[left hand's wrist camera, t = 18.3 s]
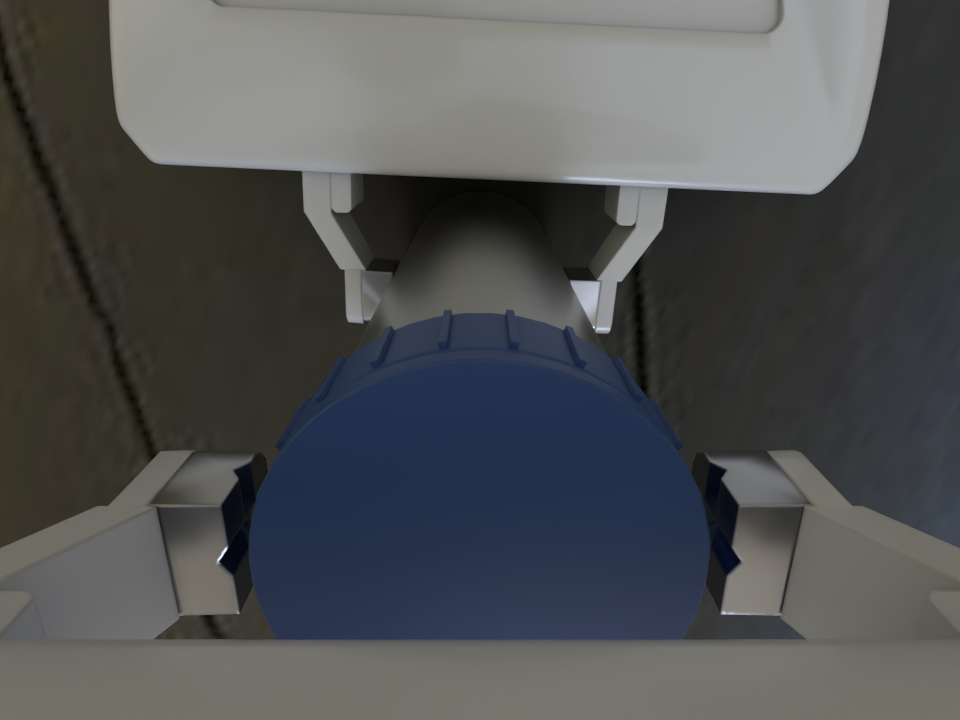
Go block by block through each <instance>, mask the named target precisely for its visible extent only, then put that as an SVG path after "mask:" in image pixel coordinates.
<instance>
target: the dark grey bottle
mask: <svg viewBox="0 0 960 720" xmlns="http://www.w3.org/2000/svg"><path fill="white" fill-rule="evenodd" d="M450 309H451V311H452V315H454V314H461V313H496V314H504V315H506V310H507V309H509V310H514V313H515V316H520V317H524V318H528V319H532V320H536V321H540V322H544V323H547V324H550V325H553V326H555V327H558V328H560V329H563V330H564V329H565V327H566V325H568V326H570V327H572V328H573V329H574V332H575V334H576V336H578V337H580V338H582V339H583V340H585V341H587V342H589V343H591V344H592V345H594V346H596V347H597V348H598V349H600V350H601V351H602V352H604V353H605V354H606V355H607V353H606V351H605V349H604V347H603V345H602V343H601V341H600V339H599V337H598V336H597V334H596V332H595V330H594V328H593V326H592V324H591V322H590V320H589V318H588V316H587V314H586V312H585V311H584V309H583V307H582V305H581V303H580V301H579V299H578V297H577V295H576V293H575V291H574V289H573V287H572V286H571V284H570V282H569V280H568V278H567V276H566V274H565V272H564V270H563V268H562V266H561V264H560V262H559V261H558V259H557V257H556V255H555V253H554V251H553V249H552V247H551V245H550V243H549V241H548V239H547V237H546V236H545V234H544V232H543V230H542V228H541V226H540V225H539V223H538V221H537V220H536V219H535V217H534V216H533V215H532V214H531V213H530V212H529V211H528V210H527V209H526V208H525V207H524V206H522V205H521V204H520V203H518V202H517V201H515V200H513V199H511V198H509V197H507V196H504V195H501V194H497V193H493V192H485V191H475V192H467V193H462V194H459V195H456V196H453V197H451V198H449V199H447V200H445V201H444V202H442V203H441V204H439V205H438V206H437V207H435V208H434V209H433V210H432V211H431V212H430V213H429V214H428V215H427V216H426V218H425V219H424V220H423V222H422V223H421V225H420V227H419V228H418V230H417V232H416V234H415V236H414V238H413V240H412V242H411V244H410V246H409V247H408V249H407V251H406V253H405V255H404V257H403V259H402V261H401V263H400V264H399V266H398V268H397V270H396V272H395V274H394V276H393V278H392V280H391V281H390V283H389V285H388V287H387V289H386V291H385V293H384V295H383V297H382V299H381V300H380V302H379V304H378V306H377V308H376V310H375V312H374V314H373V316H372V317H371V319H370V321H369V323H368V325H367V327H366V329H365V331H364V333H363V335H362V336H361V338H360V340H359V342H358V344H357V346H356V348H355V350H354V352H353V353H355V352H356V351H357V350H359V349H360V348H361V347H363V346H365V345H366V344H368V343H370V342H372V341H373V340H375V339H377V338H379V337H380V336H382V334H383V332H384V329H385V328H386V327H389V326H392V327H393V329H394V330H396V329H398V328H401V327H403V326H406V325H408V324H411V323H415V322H419V321H422V320H426V319H430V318H434V317H439V316H443V312H444V310H450ZM353 353H352V354H353Z"/></svg>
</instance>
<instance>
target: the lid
mask: <svg viewBox="0 0 960 720" xmlns="http://www.w3.org/2000/svg"><path fill="white" fill-rule="evenodd" d="M275 447H276V448H278V449H280V451H279V453H278V455H277V456H276V458H275V460H274V462H273V463H272V465H271V467H270V469H269V471H268V473H267V475H266V477H265V479H264V481H263V483H262V485H261V487H260V489H259V491H258V493H257V495H256V502H255V505H254V509H253V512H252V519H251V525H250V532H249V565H250V570H251V576H252V582H253V588H254V591H255V594H256V597H257V600H258V603H259V606H260V609H261V611H262V613H263V615H264V617H265V619H266V621H267V623H268V625H269V627H270V629H271V631H272V633H273V634H274V636H275V637H276V639H443V640H444V639H447V640H449V639H451V640H453V639H455V640H458V639H459V640H681V639H682V638H683V636H684V635H685V633H686V632H687V630H688V629H689V626H690V624H691V622H692V620H693V618H694V616H695V614H696V612H697V610H698V608H699V605H700V601H701V598H702V595H703V592H704V589H705V585H706V580H707V573H708V566H709V559H710V550H709V529H708V523H707V518H706V512H705V507H704V504H703V501H702V500H703V498H702V493H701V492H700V490H699V488H698V486H697V484H696V482H695V480H694V478H693V477H692V475H691V473H690V471H689V469H688V467H687V465H686V464H685V462H684V460H683V458H682V456H681V455H680V453H679V451H678V450H677V449H679V448H681V447H683V445H682V443H681V442H680V440H679V438H678V437H677V435H676V433H675V432H674V430H673V428H672V427H671V425H670V423H669V422H668V420H667V418H666V417H665V415H664V413H663V412H662V410H661V408H660V407H659V405H658V404H657V402H656V400H655V399H654V397H653V398H651V399H649V400H648V398H647V397H646V395H645V394H644V393H643V391H642V390H641V389H640V387H639V386H638V385H637V383H636V382H635V381H634V379H633V378H632V377H631V375H630V373H629V371H628V370H627V368H626V366H625V364H624V363H623V361H622V359H620V358H619V357H618V356H616V357H615V358H614V359H612V358H610V357H609V356H608V355H606V354H605V353H604V352H602V351H601V350H600V349H598V348H597V347H596V346H594V345H592V344H591V343H589V342H587V341H585V340H583V339H582V338H580V337H578V336H576V334H575V332H574V329H573V328H572V327H570V326H568V325H566V327H565V329H564V330H563V329H560V328H558V327H555V326H553V325H550V324H547V323H544V322H540V321H536V320H532V319H528V318H524V317H520V316H515V313H514V310H509V309H507V310H506V315H504V314H496V313H461V314H454V315H452V311H451V309H450V310H444V312H443V316H439V317H434V318H430V319H426V320H422V321H419V322H415V323H411V324H408V325H406V326H403V327H401V328H398V329H396V330H394V329H393V327H392V326H389V327H386V328H385V329H384V332H383V334H382V336H380V337H379V338H377V339H375V340H373V341H372V342H370V343H368V344H366V345H365V346H363V347H361V348H360V349H359V350H357V351H356V352H355V353H353V354H352V355H351V356H350V357H348V358H347V359H346V360H345V359H344V358H343V357H342V356H340V357H339V358H338V359H337V360H336V361H335V363H334V365H333V367H332V368H331V370H330V372H329V374H328V375H327V377H326V379H325V380H324V381H323V383H322V384H321V385H320V387H319V388H318V390H317V391H316V392H315V394H314V395H313V396H312V398H311V399H310V400H309V399H307V398H304V400H303V401H302V403H301V404H300V406H299V408H298V409H297V411H296V413H295V414H294V416H293V417H292V419H291V421H290V422H289V424H288V426H287V427H286V429H285V431H284V432H283V434H282V435H281V437H280V439H279V440H278V442H277V444H276V445H275Z"/></svg>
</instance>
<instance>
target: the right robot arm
mask: <svg viewBox="0 0 960 720" xmlns="http://www.w3.org/2000/svg"><path fill="white" fill-rule="evenodd" d="M888 8H889V0H109V22H110V47H111V64H112V76H113V88H114V98H115V105H116V112H117V116H118V119H119V122H120V124H121V127H122V128H123V129H124V131H125V132H126V133H127V134H128V136H129V137H130V138H131V139H132V140H133V141H134V143H135V144H136V145H137V146H138V147H139V149H140V150H141V151H142V152H143V153H144V154H145V155H146V156H147V157H148V159H150V160H151V161H152V162H154V163H157V164H167V165H187V166H208V167H230V168H251V169H273V170H294V171H302V183H303V202H304V212H305V214H306V216H307V217H308V219H309V220H310V222H311V223H312V225H313V227H314V228H315V230H316V231H317V233H318V235H319V236H320V238H321V239H322V241H323V242H324V244H325V246H326V247H327V249H328V250H329V252H330V254H331V255H332V257H333V258H334V260H335V261H336V263H337V265H338V266H339V268H340V269H344V270H345V297H346V317H347V320H348V322H354V323H369V321H370V319H371V317H372V316H373V314H374V312H375V310H376V308H377V306H378V304H379V302H380V300H381V299H382V297H383V295H384V293H385V291H386V289H387V287H388V285H389V283H390V281H391V280H392V278H393V276H394V274H395V272H396V270H397V268H398V266H399V260H391V259H376V258H375V257H374V255H373V253H372V251H371V250H370V248H369V246H368V244H367V242H366V241H365V239H364V237H363V235H362V233H361V232H360V230H359V228H358V226H357V224H356V222H355V221H354V219H353V217H352V215H351V213H350V212H349V211H351V210H352V209H353V208H354V207H356V206H357V205H358V204H360V203H361V202H362V201H363V200H364V198H363V174H380V175H402V176H423V177H445V178H466V179H488V180H510V181H531V182H553V183H574V184H596V185H606V191H605V202H604V212H605V213H606V215H608V216H609V217H610V218H611V219H613V220H614V221H615V222H616V225H615V226H614V228H613V229H612V231H611V232H610V234H609V235H608V237H607V238H606V240H605V241H604V242H603V244H602V245H601V247H600V248H599V250H598V251H597V253H596V254H595V256H594V257H593V259H592V260H591V262H590V263H589V264H588V266H587V267H588V268H571V267H563V270H564V272H565V274H566V276H567V278H568V280H569V282H570V284H571V286H572V287H573V289H574V291H575V293H576V295H577V297H578V299H579V301H580V303H581V305H582V307H583V309H584V311H585V312H586V314H587V316H588V318H589V320H590V322H591V324H592V326H593V328H594V330H595V332H596V333H607V334H608V333H609V332H610V329H611V326H612V319H613V311H614V303H615V295H616V287H617V282H621V281H622V280H623V279H624V277H625V276H626V275H627V274H628V272H629V271H630V270H631V268H632V267H633V266H634V264H635V263H636V262H637V261H638V259H639V258H640V257H641V255H642V254H643V253H644V251H645V250H646V249H647V248H648V246H649V245H650V244H651V242H652V241H653V240H654V238H655V237H656V236H657V235H658V233H659V232H660V231H661V229H662V227H663V220H664V213H665V207H666V200H667V194H668V188H682V189H703V190H725V191H746V192H768V193H790V194H815V193H818V192H820V191H822V190H823V189H824V188H825V187H826V186H827V185H829V184H830V183H831V182H832V181H833V180H834V179H835V178H836V177H837V176H838V175H839V174H840V173H841V172H842V171H843V170H844V169H845V168H846V167H847V166H848V164H849V163H850V162H851V161H852V160H853V159H854V157H855V155H856V154H857V152H858V149H859V146H860V144H861V141H862V138H863V134H864V131H865V127H866V123H867V120H868V115H869V111H870V107H871V102H872V98H873V93H874V89H875V84H876V79H877V74H878V69H879V64H880V58H881V53H882V47H883V41H884V34H885V28H886V22H887V15H888Z"/></svg>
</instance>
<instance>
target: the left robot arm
mask: <svg viewBox="0 0 960 720" xmlns="http://www.w3.org/2000/svg"><path fill="white" fill-rule="evenodd" d="M267 473H268V469H267V463H266V458H265V457H264V455H263V454H262V453H261V452H238V451H196V450H179V451H162V452H159V453H158V454H157V455H156V457H155V458H154V459H153V460H152V461H151V462H150V463H149V464H148V465H147V466H146V467H145V468H144V469H143V470H142V471H141V472H140V473H139V474H138V475H137V476H136V477H135V478H134V480H133V481H132V482H131V483H130V484H129V485H128V486H127V487H126V488H125V489H124V490H123V491H122V492H121V493H120V494H119V495H118V496H117V497H116V498H115V499H114V500H113V501H112V503H111V504H110V505H109V506H97V507H94V508H92V509H90V510H87V511H85V512H83V513H80V514H78V515H76V516H73V517H71V518H69V519H67V520H64V521H62V522H60V523H57V524H55V525H53V526H50V527H48V528H46V529H43V530H41V531H39V532H36V533H34V534H32V535H30V536H27V537H25V538H23V539H20V540H18V541H16V542H13V543H11V544H9V545H6V546H4V547H2V548H0V720H960V548H958V547H956V546H953V545H951V544H949V543H947V542H944V541H942V540H940V539H937V538H935V537H933V536H930V535H928V534H926V533H923V532H921V531H919V530H917V529H914V528H912V527H910V526H907V525H905V524H903V523H900V522H898V521H896V520H893V519H891V518H889V517H887V516H884V515H882V514H880V513H877V512H875V511H873V510H870V509H868V508H866V507H864V506H851V504H850V503H849V502H848V501H847V500H846V499H845V498H844V497H843V496H842V495H841V494H840V493H839V492H838V491H837V490H836V489H835V488H834V487H833V486H832V485H831V484H830V482H829V481H828V480H827V479H826V478H825V477H824V476H823V475H822V474H821V473H820V472H819V471H818V470H817V469H816V468H815V467H814V466H813V465H812V464H811V463H810V462H809V460H808V459H807V458H806V457H805V456H804V455H803V454H802V453H801V452H798V451H795V450H780V451H730V452H702V453H697V454H696V457H695V460H694V462H693V468H692V477H693V478H694V480H695V482H696V484H697V486H698V488H699V490H700V492H701V493H702V498H703V500H702V501H703V504H704V507H705V512H706V518H707V523H708V529H709V550H710V559H709V566H708V573H707V580H706V585H707V587H708V589H709V591H710V593H711V595H712V597H713V599H714V601H715V603H716V605H717V607H718V609H719V611H720V613H721V614H742V615H779V616H781V619H782V620H783V621H785V622H786V623H787V624H788V625H790V626H791V627H792V628H793V629H795V630H796V631H797V632H798V633H800V634H801V635H802V636H803V637H805V638H806V639H807V640H459V639H458V640H455V639H453V640H451V639H449V640H447V639H444V640H443V639H154V638H156V637H157V636H158V635H159V634H161V633H162V632H163V631H164V630H166V629H167V628H168V627H169V626H171V625H172V624H173V623H174V622H176V621H177V620H178V619H179V616H181V615H217V614H239V613H240V611H241V609H242V607H243V605H244V603H245V601H246V599H247V597H248V595H249V593H250V591H251V589H252V587H253V582H252V576H251V570H250V565H249V532H250V525H251V519H252V512H253V509H254V505H255V502H256V495H257V493H258V491H259V489H260V487H261V485H262V483H263V481H264V479H265V477H266V475H267Z"/></svg>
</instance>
